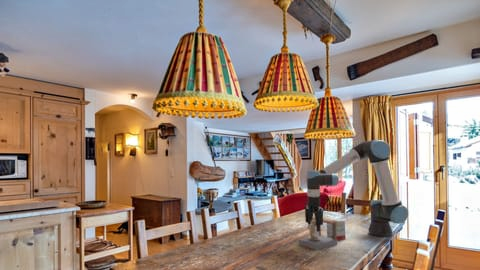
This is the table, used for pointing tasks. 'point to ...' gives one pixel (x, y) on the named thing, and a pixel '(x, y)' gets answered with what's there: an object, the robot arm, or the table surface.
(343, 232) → the ink box
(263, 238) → the table surface
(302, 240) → the socket porch
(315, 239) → the peg
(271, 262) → the table surface
